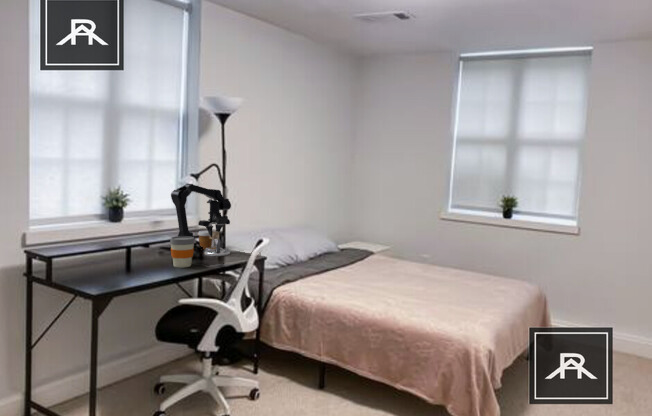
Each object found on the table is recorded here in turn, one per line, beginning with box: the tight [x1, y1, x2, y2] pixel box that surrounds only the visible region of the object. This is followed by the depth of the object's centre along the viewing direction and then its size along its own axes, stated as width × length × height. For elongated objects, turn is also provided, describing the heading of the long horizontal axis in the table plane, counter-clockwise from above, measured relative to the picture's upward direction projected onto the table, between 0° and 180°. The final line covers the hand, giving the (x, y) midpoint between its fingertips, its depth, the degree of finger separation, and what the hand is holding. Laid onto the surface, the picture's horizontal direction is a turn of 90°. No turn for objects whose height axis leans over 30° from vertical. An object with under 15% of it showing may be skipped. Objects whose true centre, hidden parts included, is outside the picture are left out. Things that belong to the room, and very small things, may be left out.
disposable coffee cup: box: [197, 230, 213, 251], centre depth 326 cm, size 10×10×12 cm
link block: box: [210, 230, 220, 240], centre depth 313 cm, size 4×4×4 cm
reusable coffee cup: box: [169, 235, 195, 268], centre depth 281 cm, size 12×12×15 cm
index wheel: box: [204, 238, 231, 257], centre depth 311 cm, size 15×15×10 cm
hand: (214, 236), depth 313 cm, fingers closed on link block, 4 cm apart
